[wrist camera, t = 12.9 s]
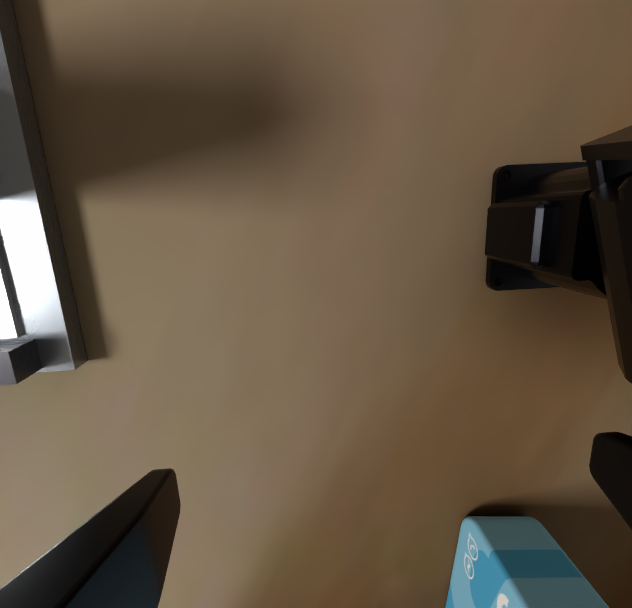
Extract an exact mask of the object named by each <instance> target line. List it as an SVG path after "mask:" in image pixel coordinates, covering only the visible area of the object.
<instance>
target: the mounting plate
mask: <svg viewBox="0 0 632 608" xmlns="http://www.w3.org/2000/svg"><path fill="white" fill-rule="evenodd" d="M86 361H87V356H86V351H85V346H84V342H83V337H82V332H81V327H80V323H79V318H78V313H77V308H76V304H75V299H74V294H73V289H72V285H71V280H70V275H69V270H68V266H67V261H66V256H65V251H64V247H63V242H62V237H61V232H60V228H59V223H58V218H57V213H56V208H55V204H54V199H53V194H52V189H51V185H50V180H49V175H48V170H47V166H46V161H45V156H44V151H43V147H42V142H41V137H40V132H39V128H38V123H37V118H36V113H35V109H34V104H33V99H32V94H31V90H30V85H29V80H28V75H27V71H26V66H25V61H24V56H23V52H22V47H21V42H20V37H19V33H18V28H17V23H16V18H15V14H14V9H13V4H12V0H0V385H9V384H17V383H19V382H21V381H22V380H24V379H26V378H27V377H29V376H30V375H32V374H34V373H35V372H48V371H63V370H75V369H77V368H78V367H79V366H81V365H82V364H84V363H85V362H86Z"/></svg>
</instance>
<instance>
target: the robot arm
mask: <svg viewBox="0 0 632 608" xmlns="http://www.w3.org/2000/svg"><path fill="white" fill-rule="evenodd" d="M580 147H581V152H582V158H583V160H586V162H574V163H549V164H524V165H506V166H502V167H499V168H497V169H496V170H495V172H494V174H493V182H492V196H491V206H490V207H489V208H488V215H487V230H486V245H485V255H486V256H487V269H486V285H487V286H488V287H489V288H490V289H493V290H497V291H500V290H517V289H534V288H551V287H563V288H567V289H571V290H574V291H578V292H582V293H586V294H589V295H593V296H597V297H600V298H604V299H607V301H608V307H609V312H610V318H611V324H612V329H613V335H614V340H615V346H616V352H617V357H618V363H619V366H620V368H621V370H622V372H623V374H624V376H625V378H626V379H627V380H628V381H629V382H631V383H632V126H629V127H627V128H624V129H622V130H619V131H617V132H614V133H612V134H609V135H607V136H604V137H601V138H599V139H596V140H594V141H591V142H589V143H586V144H584V145H581V146H580ZM503 172H506V174H507V178H506V180H505V181H504V180H503V179H502V173H503ZM497 277H498V278H499V281H498V283H497V284H496V285H494V280H495V279H496V278H497ZM589 467H590V472H591V474H592V477H593V478H594V480H595V481H596V482H597V484H598V485H599V486H600V488H601V489H602V490H603V492H604V493H605V495H606V496H607V497H608V499H609V500H610V501H611V503H612V504H613V505H614V507H615V508H616V509H617V511H618V512H619V513H620V515H621V516H622V517H623V519H624V520H625V521H626V523H627V524H628V525H629V527H630V528H631V529H632V436H629V435H626V434H623V433H620V432H605V433H598V434H596V436H595V437H594V439H593V445H592V451H591V458H590V464H589ZM179 514H180V498H179V491H178V485H177V479H176V474H175V472H174V470H173V469H171V468H169V469H156V470H152V471H151V472H149V473H148V474H147V475H145V476H144V477H143V478H141V479H140V480H139V481H138V482H136V483H135V484H134V485H133V486H131V487H130V488H129V489H127V490H126V491H125V492H124V493H122V494H121V495H120V496H118V497H117V498H116V499H115V500H113V501H112V502H111V503H109V504H108V505H107V506H106V507H104V508H103V509H102V510H100V511H99V512H98V513H97V514H95V515H94V516H93V517H91V518H90V519H89V520H88V521H86V522H85V523H84V524H82V525H81V526H80V527H79V528H77V529H76V530H75V531H73V532H72V533H71V534H70V535H68V536H67V537H66V538H65V539H63V540H62V541H61V542H59V543H58V544H57V545H56V546H54V547H53V548H52V549H50V550H49V551H48V552H47V553H45V554H44V555H43V556H41V557H40V558H39V559H38V560H36V561H35V562H34V563H32V564H31V565H30V566H29V567H27V568H26V569H25V570H23V571H22V572H21V573H20V574H18V575H17V576H16V577H14V578H13V579H12V580H11V581H9V582H8V583H7V584H5V585H4V586H3V587H2V588H0V608H157V607H158V604H159V601H160V597H161V593H162V589H163V585H164V581H165V576H166V572H167V568H168V563H169V559H170V554H171V550H172V546H173V541H174V537H175V532H176V528H177V524H178V519H179Z"/></svg>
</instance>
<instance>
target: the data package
mask: <svg viewBox="0 0 632 608" xmlns="http://www.w3.org/2000/svg"><path fill="white" fill-rule="evenodd" d="M446 608H609V607H608V605H607V604H606V603H605V602H604V600H603V599H602V598H601V597H600V596H599V594H598V593H597V592H596V591H595V589H594V588H593V587H592V586H591V584H590V583H589V582H588V581H587V579H586V578H585V577H584V576H583V574H582V573H581V572H580V571H579V570H578V568H577V567H576V566H575V565H574V563H573V562H572V561H571V560H570V558H569V557H568V556H567V555H566V553H565V552H564V551H563V550H562V548H561V547H560V546H559V545H558V544H557V542H556V541H555V540H554V539H553V537H552V536H551V535H550V534H549V532H548V531H547V530H546V529H545V527H544V526H543V525H542V524H541V523H540V522H539V521H538V520H536V519H535V518H533V517H528V516H469V517H466V518H465V519H464V520H463V522H462V524H461V529H460V534H459V539H458V545H457V550H456V555H455V560H454V566H453V571H452V576H451V581H450V587H449V592H448V597H447V602H446Z"/></svg>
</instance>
